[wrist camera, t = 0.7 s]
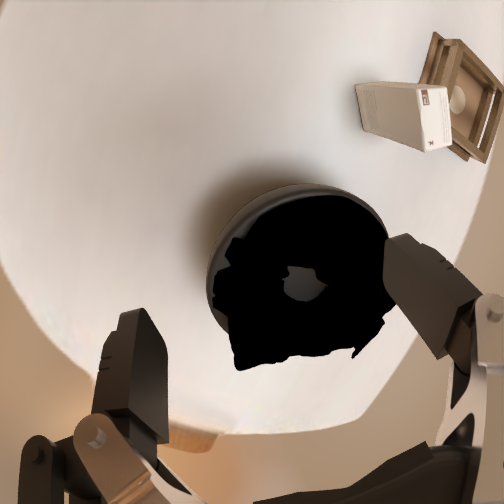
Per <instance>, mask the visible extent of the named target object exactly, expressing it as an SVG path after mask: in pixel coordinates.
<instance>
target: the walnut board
mask: <svg viewBox="0 0 504 504" xmlns="http://www.w3.org/2000/svg"><path fill="white" fill-rule="evenodd" d="M439 39H444V38H443V37H442V36H440V35H439V34H438V33H437V32H434V33H433V37H432V41H431V44H430V48H429V52H428V55H427V59H426V62H425V65H424V69H423V72H422V75H421V79H420V82H419V84H426V82H427V79H428V76H429V73H430V69H431V66H432V62H433V59H434V55H435V52H436V48H437V44H438V40H439ZM447 59H448V57H447ZM446 63H447V61H446ZM445 66H446V65H445ZM444 70H445V68H444ZM443 73H444V72H443ZM442 77H443V76H442ZM441 80H442V79H441ZM440 84H441V82H440ZM482 91H483V88H482V87H481V86H480V85H479V84H478V83H477V82H476V81H475V80H474V79H473V78H472V77H471V76H470V75H469V74H468V73H467V72H466V71H465V70H464V69H463V68H462V67H461V66H460V68H459V71H458V75H457V79H456V82H455V86H454V89H453V93H452V96H451V99H450V103H449V111H450V121H451V126H452V127H453V128H455V129H456V130H457V131H458V132H460V133H461V134H462V135H463V136H464V137H466V138H467V139H468V138H469V135H470V132H471V129H472V126H473V123H474V119H475V116H476V113H477V109H478V106H479V103H480V99H481V95H482ZM447 147H448V148H449V149H450V150H452V151H453V152H454V153H456V154H457V155H459V156H460V157H461V158H462V159H464V160H465V161H467V162H468V160H469V156H467V155H465V154H464V153H463V152H462V151H460V150H459V149H458V148H456V147H455V146H454V145H450V146H447Z"/></svg>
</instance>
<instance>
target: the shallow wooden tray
mask: <svg viewBox="0 0 504 504" xmlns="http://www.w3.org/2000/svg"><path fill="white" fill-rule="evenodd" d="M447 57H448V59H447ZM446 61H447V63H446ZM445 65H446V66H445ZM460 66H461V67H462V68H463V69H464V70H465V71H466V72H467V73H468V74H469V75H470V76H471V77H472V78H473V79H474V80H475V81H476V82H477V83H478V84H479V85H480V86H481V87H482V88H483V91H482V95H481V99H480V103H479V106H478V109H477V113H476V116H475V119H474V123H473V126H472V129H471V132H470V135H469V138H468V139H467V138H466V137H464V136H463V135H462V134H461V133H460V132H458V131H457V130H456V129H455V128H453V127H452V126H451V134H452V145H454V146H455V147H456V148H458V149H459V150H460V151H462V152H463V153H464V154H465V155H467V156H469V157H471V158H473V159H476V160H478V161H480V162H482V163H484V164H486V161H487V158H488V155H489V152H490V149H491V147H492V144H493V140H494V137H495V134H496V131H497V128H498V124H499V121H500V117H501V114H502V110H503V106H504V86H503V85H502V84H501V83H500V81H499V80H498V79H497V78H496V77H495V76H494V74H493V73H492V72H491V71H490V70H489V69H488V68H487V66H486V65H485V64H484V63H483V62H482V61H481V60H480V59H479V58H478V57H477V56H476V55H475V54H474V53H473V52H472V51H471V50H470V49H469V48H468V47H467V46H466V45H465V44H464V43H463V42H462V41H461V40H460V39H439V40H438V44H437V48H436V52H435V55H434V59H433V62H432V66H431V69H430V73H429V76H428V79H427V82H426V84H428V85H438V86H445V87H446V88H447V94H448V102H449V103H450V99H451V96H452V93H453V89H454V86H455V82H456V79H457V75H458V71H459V68H460ZM444 68H445V70H444ZM443 72H444V73H443ZM442 76H443V77H442ZM441 79H442V80H441ZM440 82H441V84H440ZM493 94H495V97H494V101H493V105H492V108H491V112H490V115H489V119H488V122H487V125H486V129H485V132H484V135H483V138H482V141H481V144H480V147H479V149H478V148H477V145H478V143H479V140H480V137H481V133H482V130H483V127H484V124H485V121H486V117H487V114H488V110H489V107H490V103H491V99H492V96H493Z"/></svg>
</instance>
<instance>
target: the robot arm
mask: <svg viewBox="0 0 504 504" xmlns="http://www.w3.org/2000/svg"><path fill="white" fill-rule="evenodd" d="M383 282H384V286H385V288H386V290H387V292H388V293H389V295H390V296H391V297H392V299H393V300H394V301H395V303H396V304H397V305H398V306H399V308H400V309H401V310H402V312H403V313H404V314H405V316H406V317H407V318H408V320H409V321H410V322H411V324H412V325H413V326H414V328H415V329H416V330H417V332H418V333H419V335H420V336H421V337H422V339H423V340H424V341H425V343H426V344H427V346H428V347H429V349H430V350H431V351H432V353H433V354H434V356H435V357H436V359H437V360H438V359H440V358H442V357H444V356H446V355H448V354H449V355H450V356H451V358H452V360H451V362H450V371H449V383H448V394H447V402H446V409H445V415H444V418H443V421H442V423H441V426H440V428H439V431H438V434H437V438H436V442H435V446H433V447H428V445H427V443H426V441H424V442H423V443H421V444H419V445H417V446H415V447H413V448H412V449H409V450H407V451H405V452H403V453H401V454H399V455H397V456H395V457H393V458H391V459H389V460H387V461H386V462H384V463H383V464H382V465H380V466H379V467H378V468H376V469H375V470H374V471H372V472H371V473H369V474H368V475H367V476H365V477H363V478H362V479H361V480H359V481H358V482H356V483H354V484H353V485H351V486H350V487H347V488H342V489H333V490H323V491H309V492H296V493H293V494H289V495H284V496H280V497H276V498H271V499H266V500H261V501H256V502H253V504H504V297H502V296H500V295H497V294H485V295H483V294H482V293H481V292H480V291H479V290H478V289H477V288H476V287H475V286H474V285H473V284H472V283H471V282H470V281H469V280H468V279H467V278H466V277H465V276H464V275H463V274H462V273H461V272H460V271H458V270H457V268H454V266H453V265H452V264H451V263H450V262H449V261H448V260H447V261H446V258H445V257H444V256H442V255H441V254H440V253H439V252H438V251H437V250H436V249H434V248H432V247H429V246H427V245H425V244H423V243H422V244H420V243H419V242H418V241H416V240H415V239H414V238H413V237H412V236H411V235H409V234H407V233H405V234H402V235H398V236H395V237H392V238H389V239H387V240H386V242H385V248H384V265H383ZM166 443H169V429H168V353H167V348H166V345H165V342H164V340H163V338H162V336H161V335H160V333H159V331H158V330H157V328H156V326H155V325H154V323H153V321H152V320H151V318H150V316H149V314H148V313H147V311H146V310H145V309H144V308H139V309H136V310H132V311H128V312H124V313H121V314H120V317H119V322H118V326H117V331H112V332H111V333H110V335H109V337H108V338H107V340H106V341H105V343H104V345H103V350H102V354H101V361H100V364H99V372H98V375H97V380H96V386H95V392H94V398H93V405H92V411H91V414H90V415H88V416H86V417H85V418H83V419H82V420H81V421H80V422H79V423H78V425H77V426H76V429H75V431H74V435H73V436H70V437H68V438H65V439H62V440H60V441H57V442H54V443H53V442H52V441H50V440H49V439H47V438H46V437H44V436H42V435H36V436H33V437H31V438H30V439H29V440H28V441H27V442H26V444H25V445H24V447H23V450H22V454H21V463H20V473H19V487H18V504H64V492H66V493H68V494H69V504H209V503H207V502H206V501H204V500H203V499H201V498H200V497H199V496H198V495H196V494H195V493H194V492H193V491H192V490H191V489H190V488H189V487H188V486H187V485H186V484H185V483H184V482H183V481H182V480H181V479H180V478H179V477H178V476H177V475H176V474H175V473H174V472H173V471H172V470H171V469H170V468H169V466H168V465H166V463H165V462H164V461H163V460H162V459H161V458H160V457H159V456H158V455H157V444H166Z"/></svg>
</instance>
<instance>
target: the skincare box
mask: <svg viewBox="0 0 504 504" xmlns="http://www.w3.org/2000/svg"><path fill="white" fill-rule="evenodd" d="M355 88H356V92H357V97H358V102H359V107H360V112H361V118H362V124H363V129H364V131H367V132H370V133H373V134H376V135H379V136H382V137H385V138H388V139H390V140H393V141H396V142H399V143H401V144H404V145H407V146H409V147H412V148H415V149H417V150H420V151H422V152H427V151H431V150H435V149H439V148H443V147H447V146H450V145H452V134H451V121H450V111H449V102H448V94H447V88H446V87H445V86H438V85H428V84H416V83H403V82H384V81H383V82H375V83H367V84H358V85H355Z"/></svg>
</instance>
